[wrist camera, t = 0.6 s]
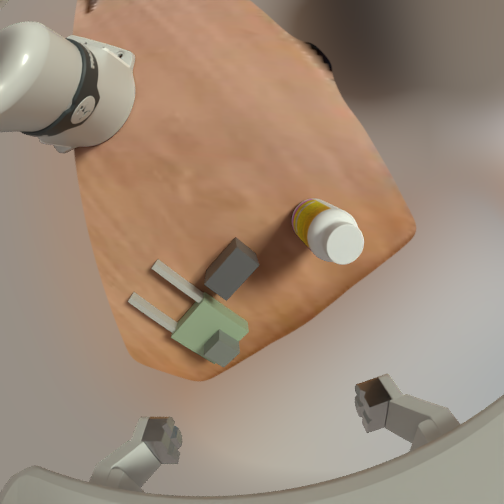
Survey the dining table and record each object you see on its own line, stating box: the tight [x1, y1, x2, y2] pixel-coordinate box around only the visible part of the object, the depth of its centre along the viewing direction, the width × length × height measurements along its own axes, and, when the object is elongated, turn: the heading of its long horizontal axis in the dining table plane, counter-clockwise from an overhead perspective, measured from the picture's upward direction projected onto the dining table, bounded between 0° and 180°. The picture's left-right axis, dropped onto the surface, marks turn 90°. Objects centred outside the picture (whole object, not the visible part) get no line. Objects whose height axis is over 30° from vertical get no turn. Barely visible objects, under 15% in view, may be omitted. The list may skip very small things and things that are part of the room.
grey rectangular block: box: [204, 237, 259, 301], centre depth 40 cm, size 7×4×5 cm, turn 139°
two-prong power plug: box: [128, 259, 249, 367], centre depth 42 cm, size 18×9×6 cm, turn 49°
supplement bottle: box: [292, 198, 364, 264], centre depth 35 cm, size 7×7×13 cm
